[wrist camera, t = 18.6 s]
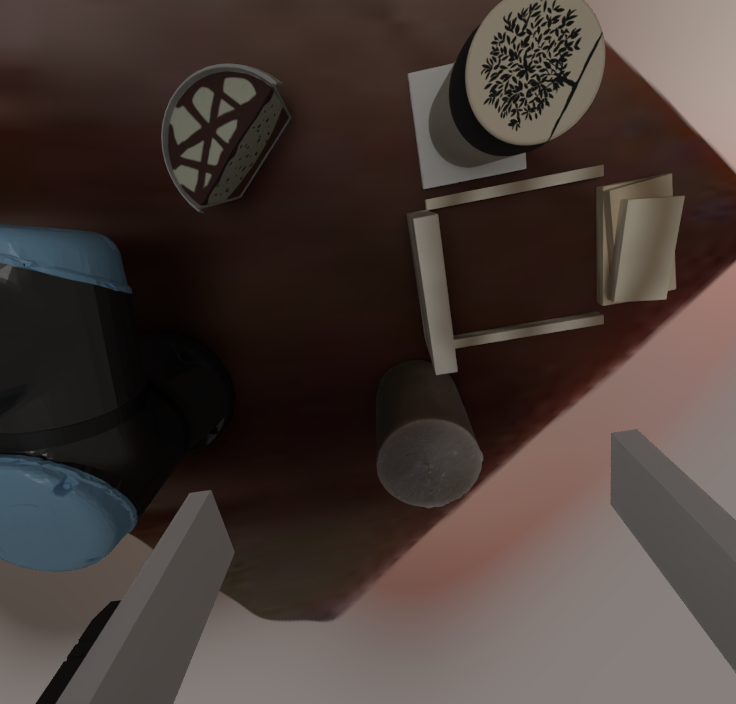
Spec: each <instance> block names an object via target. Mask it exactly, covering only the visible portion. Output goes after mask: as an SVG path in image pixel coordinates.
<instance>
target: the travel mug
mask: <svg viewBox="0 0 736 704" xmlns="http://www.w3.org/2000/svg"><path fill="white" fill-rule="evenodd" d="M604 65H605V43H604V36H603V33H602V29H601V26H600V24H599V21H598V19H597V17H596V15H595V14H594V12H593V10H592V9H591V8H590V6H589V5H588V4H587V3H586V2H585V1H584V0H503V1H501V2H500V3H499V4H498V5H497V6H496V7H495V8H494V9H493V10H492V11H491V12H490V13H489V14H488V15H487V17H486V18H485V19H484V20H483V22H482V23H481V24H480V25H479V26H478V27H477V28H476V29H475V30H474V31H473V33H472V34H471V35H470V37H469V38H468V39H467V41H466V43H465V44H464V46H463V48H462V50H461V51H460V53H459V55H458V57H457V59H456V60H455V62H454V64H453V66H452V68H451V69H450V71H449V73H448V75H447V77H446V79H445V80H444V82H443V84H442V86H441V88H440V89H439V91H438V93H437V95H436V97H435V99H434V101H433V103H432V106H431V109H430V113H429V122H428V125H429V134H430V138H431V141H432V143H433V146H434V148H435V149H436V151H437V152H438V153H439V155H440V156H441V157H442V158H443V159H445V160H446V161H447V162H449V163H451V164H453V165H455V166H458V167H465V168H472V167H477V166H481V165H485V164H488V163H491V162H495V161H498V160H502V159H505V158H509V157H512V156H515V155H519V154H522V153H526V152H529V151H532V150H534V149H536V148H539V147H540V146H542V145H544V144H545V143H547V142H548V141H550V140H552V139H554V138H556V137H558V136H560V135H561V134H563V133H565V132H566V131H567V130H569V129H570V128H571V127H572V126H573V125H574V124H576V123H577V122H578V120H579V119H580V118H581V117H582V116H583V115H584V113H585V112H586V111H587V109H588V108H589V106H590V105H591V103H592V101H593V100H594V98H595V96H596V93H597V91H598V89H599V86H600V83H601V80H602V76H603V71H604Z"/></svg>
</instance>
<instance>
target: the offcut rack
mask: <svg viewBox="0 0 736 704" xmlns="http://www.w3.org/2000/svg"><path fill="white" fill-rule="evenodd" d="M600 176H604V165H597V166H592V167H587V168H582V169H577V170H572V171H567V172H562V173H556V174H551V175H546V176H541V177H536V178H531V179H526V180H521V181H516V182H511V183H506V184H501V185H496V186H491V187H486V188H481V189H476V190H470V191H465V192H460V193H455V194H450V195H445V196H440V197H435V198H430V199H425V200H424V202H425V209H426V210H422V211H417V212H412V213H407V214H406V215H407V222H408V228H409V235H410V242H411V248H412V255H413V262H414V268H415V275H416V282H417V288H418V295H419V302H420V308H421V315H422V322H423V328H424V335H425V341H426V344H427V347H428V351H429V354H430V357H431V360H432V364H433V367H434V370H435V374H436V375H440V374H446V373H453V372H458V370H457V362H456V354H455V348H461V347H467V346H473V345H479V344H485V343H491V342H497V341H503V340H509V339H515V338H521V337H527V336H533V335H539V334H546V333H552V332H558V331H564V330H570V329H576V328H582V327H588V326H594V325H600V324H604V315H602V314H601V313H599V312H591V313H585V314H579V315H573V316H567V317H561V318H555V319H549V320H543V321H537V322H531V323H525V324H519V325H513V326H507V327H501V328H495V329H489V330H483V331H477V332H471V333H466V334H460V335H454V336H453V330H452V322H451V314H450V306H449V298H448V291H447V283H446V275H445V267H444V259H443V251H442V243H441V235H440V227H439V219H438V214H436V213H433V212H430V211H427V210H431V209H437V208H442V207H447V206H452V205H457V204H462V203H467V202H472V201H477V200H483V199H488V198H493V197H498V196H503V195H508V194H513V193H518V192H524V191H529V190H534V189H539V188H544V187H549V186H554V185H559V184H565V183H570V182H575V181H580V180H585V179H590V178H595V177H600ZM684 197H685V196H673V191H672V173H671V174H661V175H656V176H651V177H646V178H641V179H636V180H630V181H625V182H620V183H615V184H610V185H605V186H599V187H596V240H597V303H598V304H600V305H602V306H605V305H611V304H617V303H623V302H629V301H646V300H664V299H666V297H667V291H670V290H674V289H676V276H675V247H676V241H677V236H678V230H679V225H680V219H681V214H682V208H683V203H684Z"/></svg>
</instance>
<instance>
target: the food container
mask: <svg viewBox="0 0 736 704" xmlns="http://www.w3.org/2000/svg"><path fill="white" fill-rule="evenodd" d="M276 84H277V85H282V84H283V83H282V82H281V81H279V80H278V79H276V78H275V77H274V76H272V75H270V74H268V73H266V72H264V71H262V70H260V69H256V68H253V67H250V66H245V65H238V64H217V65H213V66H209V67H206V68H204V69H202V70H199V71H197V72H195V73H194V74H193V75H191V76H190V77H188V78H187V79H186V80H185V81H184V82H183V83H182V84H181V85H180V86H179V87H178V88H177V90H176V91H175V93H174V95H173V96H172V98H171V99H170V101H169V104H168V106H167V108H166V111H165V115H164V119H163V123H162V134H161V137H162V150H163V155H164V160H165V163H166V166H167V169H168V172H169V174H170V176H171V178H172V180H173V182H174V184H175V186H176V187H177V189H178V190H179V192H180V193H181V195H182V196H183V197H184V198H185V199H186V200H187V202H188V203H189V204H190V205H191V206H193V207H194V208H195V209H196V210H197V211H198V212H200V213H204V211H202V210H201V209H203V208H207V207H210V206H214V205H218V204H221V203H225V202H229V201H233V200H236V199H240V198H241V197H242V195H243V194H244V192H245V191H246V189H247V188H248V186H249V184H250V183H251V181H252V180H253V178H254V176H255V175H256V173H257V172H258V170H259V169H260V167H261V165H262V164H263V162H264V161H265V159H266V158H267V156H268V154H269V153H270V151H271V150H272V148H273V146H274V145H275V143H276V142H277V140H278V139H279V137H280V135H281V134H282V132H283V131H284V129H285V127H286V126H287V124H288V123H289V121H290V120H291V118H292V117H291V115H290V113H289V111H288V109H287V107H286V105H285V103H284V101H283V99H282V97H281V96H280V94H279V92H278V90H277V88H276Z"/></svg>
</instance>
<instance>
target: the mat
mask: <svg viewBox="0 0 736 704" xmlns="http://www.w3.org/2000/svg"><path fill="white" fill-rule="evenodd" d="M453 64H454V63H453ZM453 64H449V65H444V66H440V67H435V68H431V69H427V70H422V71H418V72H413V73H409V74H408V84H409V91H410V98H411V106H412V113H413V121H414V128H415V135H416V143H417V150H418V158H419V165H420V172H421V180H422V187H423V189H427V188H432V187H437V186H442V185H447V184H452V183H457V182H462V181H467V180H472V179H477V178H482V177H487V176H492V175H497V174H502V173H507V172H512V171H517V170H522V169H526V153H522V154H519V155H515V156H512V157H509V158H505V159H502V160H498V161H495V162H491V163H488V164H485V165H481V166H477V167H472V168H465V167H458V166H455V165H453V164H451V163H449V162H447V161H446V160H445V159H443V158H442V157H441V156H440V155H439V153H438V152H437V151H436V149H435V148H434V146H433V143H432V141H431V138H430V134H429V125H428V122H429V113H430V109H431V106H432V103H433V101H434V99H435V97H436V95H437V93H438V91H439V89H440V88H441V86H442V84H443V82H444V80H445V79H446V77H447V75H448V73H449V71H450V69H451V68H452V66H453Z"/></svg>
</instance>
